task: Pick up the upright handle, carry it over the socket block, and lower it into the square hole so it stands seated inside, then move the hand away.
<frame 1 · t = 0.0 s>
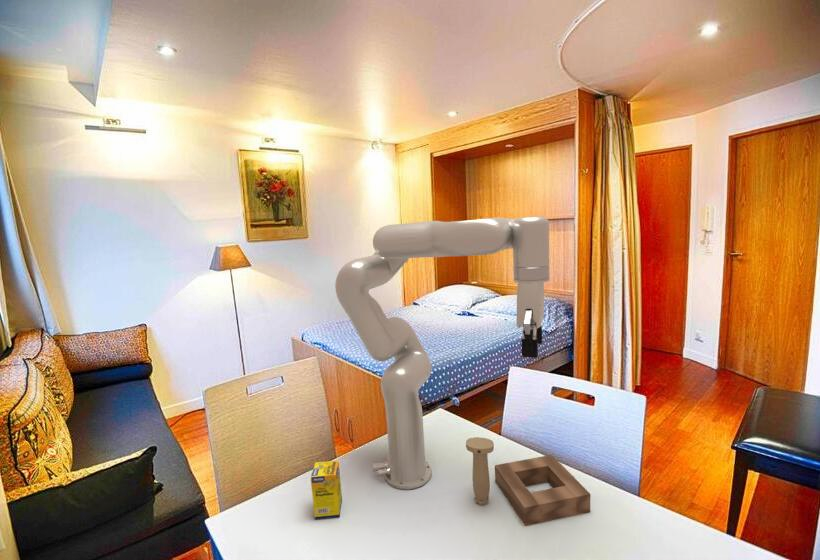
hand: (532, 349, 90), 37 cm above the table, tool pointing down, fingers open, 9 cm apart
supplement box: (329, 510, 97), on the table
handle: (481, 501, 97), on the table
socket block: (539, 495, 98), on the table
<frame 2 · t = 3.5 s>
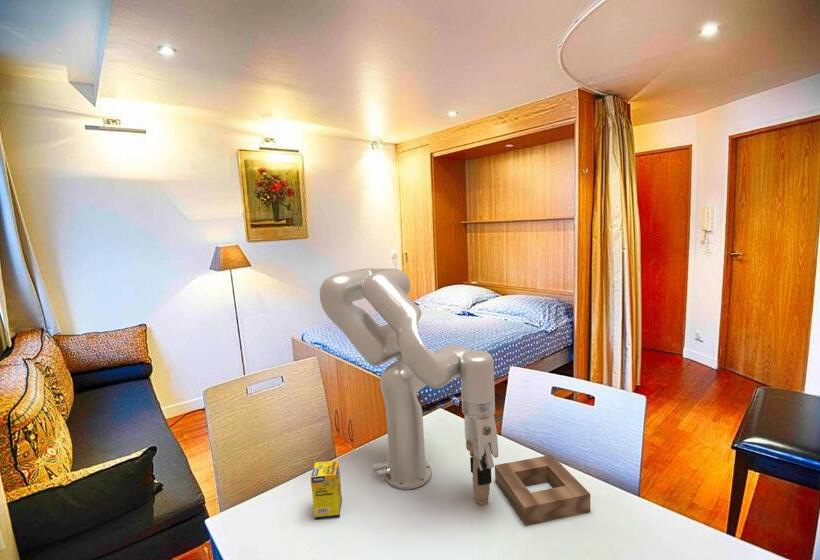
hand: (480, 477, 96), 6 cm above the table, tool pointing down, fingers closed on handle, 3 cm apart
handle: (481, 501, 97), on the table, touching gripper
everything else where it was.
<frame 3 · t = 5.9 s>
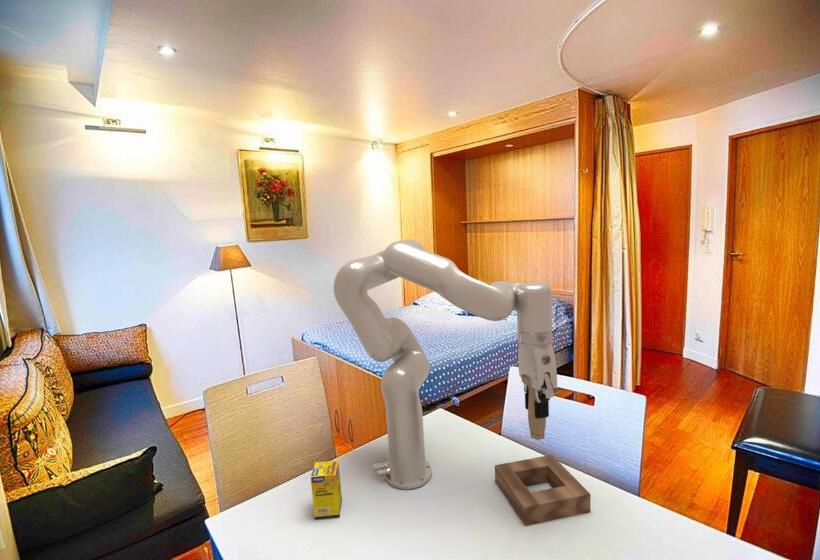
hand: (536, 412, 94), 22 cm above the table, tool pointing down, fingers closed on handle, 3 cm apart
handle: (537, 437, 95), point 15 cm above the table, touching gripper
everything else where it was.
when the fingers open (8 cm above the table, at t = 8.7 s): handle drops 2 cm, resting in socket block.
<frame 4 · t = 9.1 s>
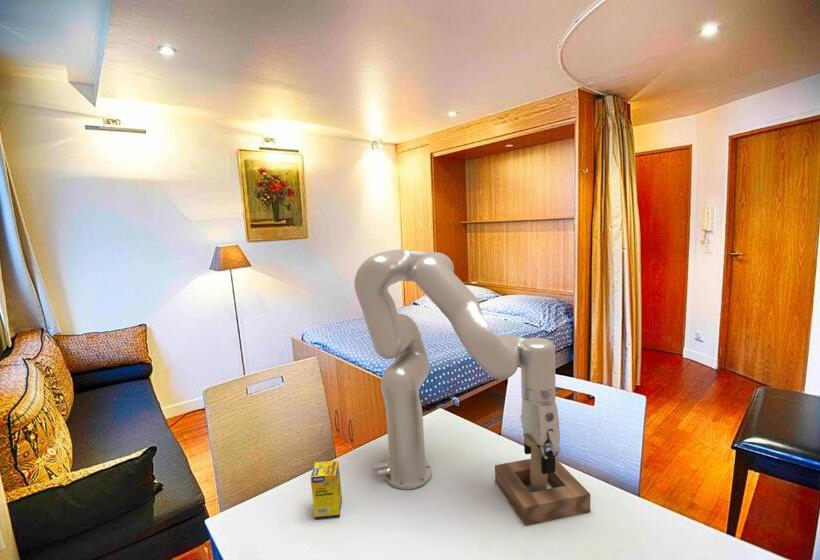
hand: (539, 461, 96), 9 cm above the table, tool pointing down, fingers open, 7 cm apart
handle: (539, 496, 98), resting in socket block
everything else where it was.
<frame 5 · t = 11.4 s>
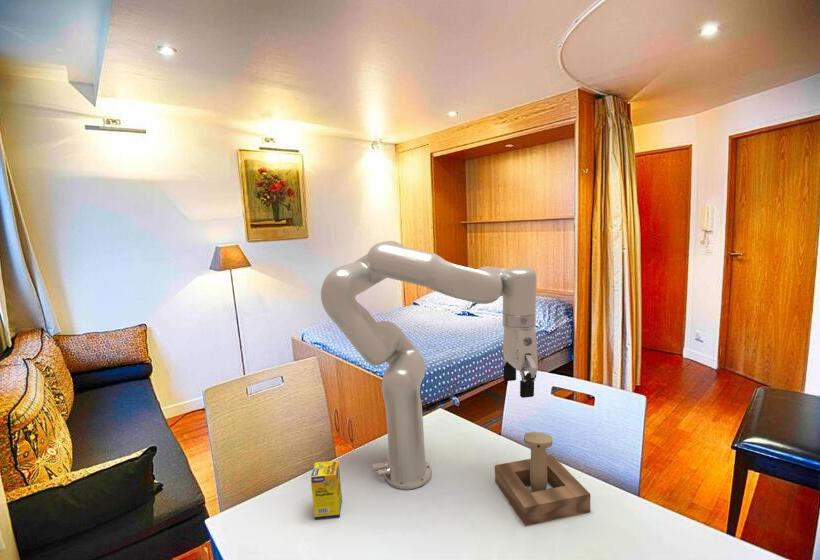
hand: (517, 388, 99), 25 cm above the table, tool pointing down, fingers open, 9 cm apart
nothing on the table moved.
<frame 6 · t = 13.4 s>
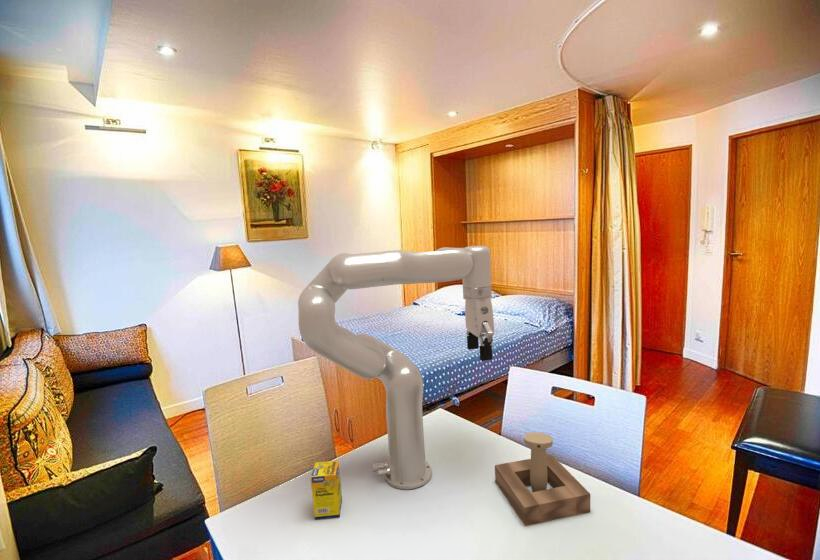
hand: (479, 354, 110), 30 cm above the table, tool pointing down, fingers open, 9 cm apart
nothing on the table moved.
at the end: handle 0.1 cm off-centre on the socket block, point 0.0 cm above the socket block's base; handle tilted 0°; the gripper is holding nothing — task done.
